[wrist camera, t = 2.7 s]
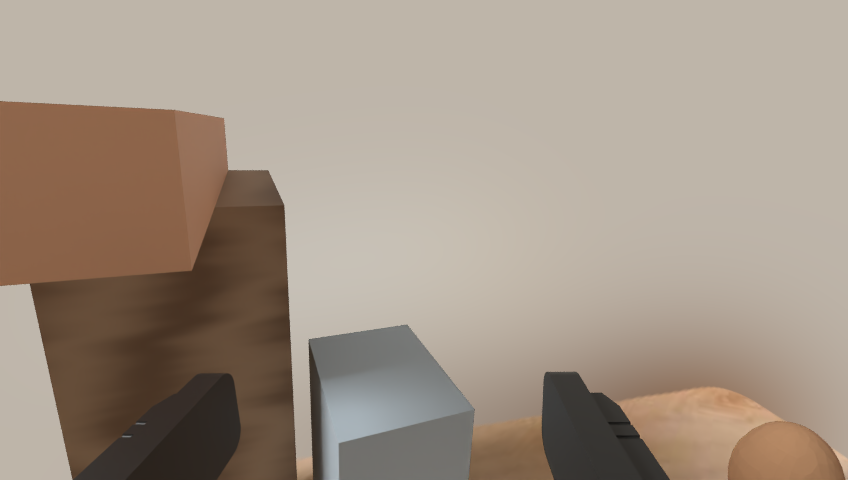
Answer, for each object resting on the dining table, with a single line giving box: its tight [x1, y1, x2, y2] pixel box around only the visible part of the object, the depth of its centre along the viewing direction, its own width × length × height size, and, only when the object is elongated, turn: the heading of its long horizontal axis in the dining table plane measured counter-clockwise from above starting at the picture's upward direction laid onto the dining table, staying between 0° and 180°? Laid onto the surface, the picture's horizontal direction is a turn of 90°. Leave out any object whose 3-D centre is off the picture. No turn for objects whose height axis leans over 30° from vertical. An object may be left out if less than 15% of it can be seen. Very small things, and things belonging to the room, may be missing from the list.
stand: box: [30, 170, 297, 480], centre depth 29 cm, size 10×16×32 cm, turn 23°
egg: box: [728, 421, 845, 480], centre depth 39 cm, size 8×8×11 cm
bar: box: [0, 101, 228, 286], centre depth 21 cm, size 4×25×4 cm, turn 22°
